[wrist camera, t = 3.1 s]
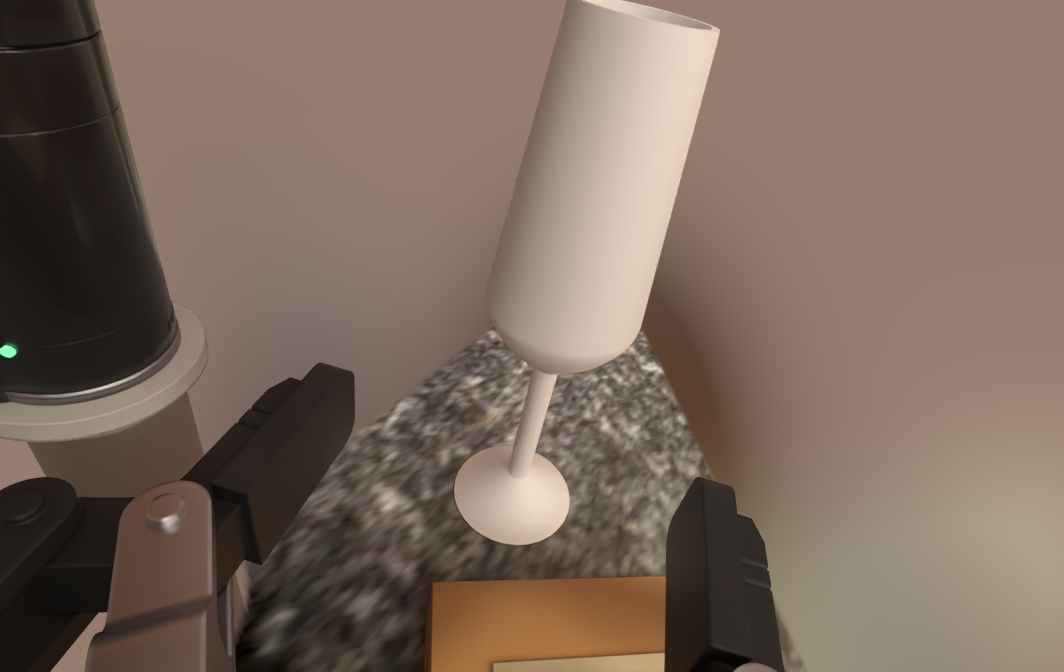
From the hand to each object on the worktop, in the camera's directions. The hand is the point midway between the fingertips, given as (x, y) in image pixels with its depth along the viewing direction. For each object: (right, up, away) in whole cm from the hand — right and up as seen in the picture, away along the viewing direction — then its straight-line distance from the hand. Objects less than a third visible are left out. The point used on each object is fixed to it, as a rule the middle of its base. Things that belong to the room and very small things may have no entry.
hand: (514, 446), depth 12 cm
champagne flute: (-1, -6, +18) cm, 20 cm away
